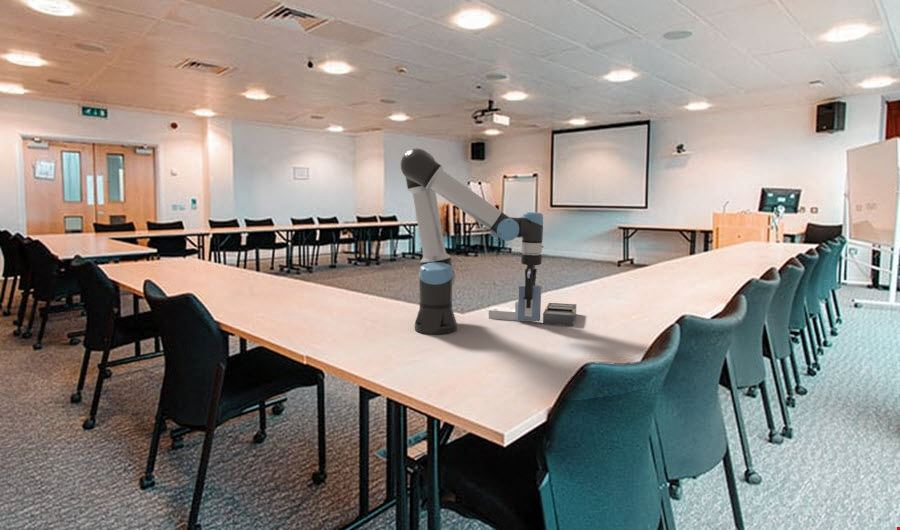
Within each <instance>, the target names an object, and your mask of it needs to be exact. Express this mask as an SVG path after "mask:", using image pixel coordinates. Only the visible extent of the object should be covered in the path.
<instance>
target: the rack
mask: <svg viewBox="0 0 900 530" xmlns="http://www.w3.org/2000/svg"><path fill="white" fill-rule="evenodd" d="M575 316H577V303H576V304H575V303H561V302H560V303H557V302H548V303H547V306H546V307H545V309H544V311H543V312H542V324H543V325H554V326H566V327H567V326H568V327H574V323H575V319H576V317H575Z"/></svg>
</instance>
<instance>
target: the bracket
mask: <svg viewBox="0 0 900 530" xmlns="http://www.w3.org/2000/svg"><path fill="white" fill-rule="evenodd" d="M518 301H519V297H517V300H516V301H515V303H514V305H515V306H514V307H506V306H505V307H504V306H491V307H490V308H489V309H488V319H490V318H491V319H493V320H507V321H508V320H509V321H520V322H522V321H523V320H518Z"/></svg>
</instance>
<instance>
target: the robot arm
mask: <svg viewBox="0 0 900 530" xmlns="http://www.w3.org/2000/svg"><path fill="white" fill-rule="evenodd" d="M400 170H401V173H402V174H403V175H404V177H405V182H406V187H407V190H408V191H409V192H410V193H411V194H412V196H413V197H412V198H413V204H414V208H415V214H416V215H415V216H416V221H417V226H418V233H419V238H420V239H419V240H420V242H421V243H420V244H421V251H422V255H423V256H422V258H421V260H420V266H419V267H420V268H419V272H418V277H419V309H418V312H417V315H416V319H415V322H414V330H415V331H416V332H418V333H421V334H426V335H427V334H428V335H443V334H450V333H453V332H456V331H457V330H458V327H457V326H458V322H457V319H456V316H455V313H454V311H453V285H454V283H455V278H456V275H455V271H454V269H453V263H452V258H451V256H450V254H449V253H447V251H446V246H445V241H444V235H443V229H442V223H441V222H442V221H441V216H440V211H439V210H440V209H439V203H438V198H437V195H440V196H441V197H443V198H444V199H445V200H446V201H448V202H449V203H451V204H452V205H454V206H455V207H457V208H458V209H459V210H460V211H462V212H464V213H465V214H466V215H468V216H470V217H471V218H473V219H474V220H475V221H476V222H477V223H480V224H481V225H482V226H484V227H485V228H487V229H488V230H490V236H491V237H493V238H500V239H501V240H502V241H505V242H507V241H508V242H509V241H510V242H511V241H513V240H514V239H516V238H518V239H519V238H521V253H522V254H521V256H520V257H521V260H520V262H521V265H525V266H526V265H527V266H526V268H525V270H524V275H525V276H524V278H525V279H524V282H525V283H524V285H525V298H523V299H525V316H529V317H532V306H533V299H532V294H533V285H534V286H536V279H537V274H538V273H537V272H538V269H537V268H536V266H539V265H541V264H542V261H543V260H542V257H543V255H542V253H543V252H542V251H543V248H544V247H545V245H543V235H544V234H543V233H544V214H543V213H541V212H533V211H532V212H530V211H529V212H527V211H526V212H523V214H522V216H521V217H512V216H511V217H510V216H508V215H507V214H505V213H504V212H502V211H501V210H500V209H498V208H497V207H496V206H494V205H492V204H491V203H489V202H488V201H487V200H486V199H484V198H483V197H481V196H480V195H479V194H476V192H475V191H473V190H471V188H469V187H467V186H466V185H465V184H463V183H462V182H460V181H459V180H457V179H456V178H455V177H453V176H451V174H449V173H448V172H446V171H444V168H443V165H441V164H440V163H438V162H437V161H436V160H435V158H434V156H433V155H432V154H431V153H429V152H427V151H426V150H424V149H421V148H412V149H410V150H408V151H407V152H405V153H404V154H403V155H402V158H401V160H400Z"/></svg>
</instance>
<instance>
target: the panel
mask: <svg viewBox="0 0 900 530" xmlns="http://www.w3.org/2000/svg"><path fill="white" fill-rule="evenodd" d="M518 298H519V301H518V300H517V301H518V320H517V321H519V320H522V321H528V322H540V321H541V304H542V285H535V286H534V285H533V294H532V299H533V306H532V317H529V316H525V299H523V298H525V284H520V285H519V286H518Z"/></svg>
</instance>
